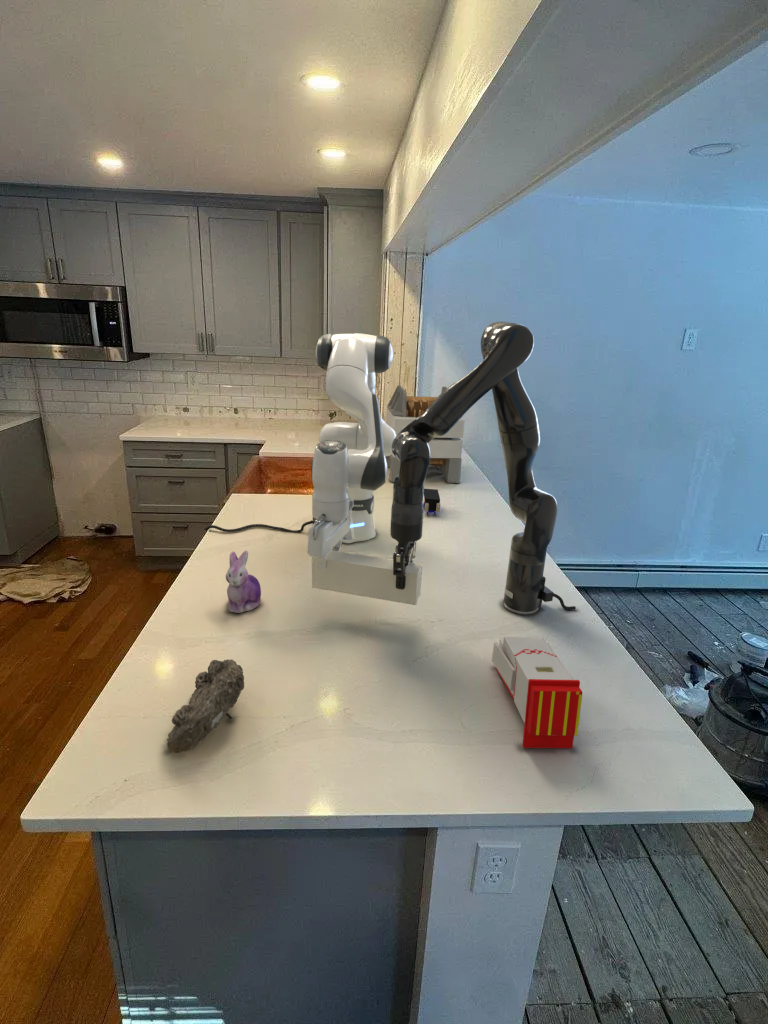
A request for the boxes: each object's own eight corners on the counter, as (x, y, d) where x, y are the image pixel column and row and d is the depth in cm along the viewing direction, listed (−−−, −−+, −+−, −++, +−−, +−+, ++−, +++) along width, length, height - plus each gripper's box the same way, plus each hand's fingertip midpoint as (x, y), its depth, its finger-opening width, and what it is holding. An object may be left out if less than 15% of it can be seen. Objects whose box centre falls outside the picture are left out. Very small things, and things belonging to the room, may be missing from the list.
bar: (311, 587, 143) (311, 557, 140) (320, 578, 148) (320, 548, 145) (415, 605, 136) (417, 573, 133) (420, 594, 141) (422, 564, 138)
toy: (540, 620, 128) (592, 687, 99) (535, 674, 131) (584, 755, 102) (487, 619, 128) (523, 686, 99) (483, 673, 131) (517, 754, 101)
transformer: (382, 463, 289) (386, 382, 275) (445, 464, 293) (451, 384, 279) (390, 482, 257) (394, 392, 243) (460, 483, 261) (468, 394, 247)
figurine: (230, 617, 142) (227, 563, 137) (221, 599, 150) (218, 547, 145) (267, 610, 146) (266, 557, 141) (256, 593, 154) (255, 542, 149)
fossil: (192, 660, 117) (244, 628, 112) (224, 691, 120) (276, 661, 115) (142, 746, 98) (202, 712, 93) (182, 779, 101) (242, 748, 96)
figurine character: (440, 521, 217) (436, 504, 231) (442, 503, 214) (438, 487, 227) (423, 520, 217) (420, 503, 230) (424, 502, 214) (421, 486, 227)
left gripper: (326, 524, 127) (326, 580, 131) (355, 498, 146) (354, 548, 150) (300, 520, 128) (300, 575, 133) (332, 495, 147) (332, 544, 152)
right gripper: (415, 531, 125) (411, 599, 131) (428, 510, 138) (424, 573, 144) (383, 526, 127) (380, 593, 133) (399, 506, 140) (396, 568, 146)
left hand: (329, 561), depth 142 cm, fingers open, 8 cm apart
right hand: (403, 582), depth 138 cm, fingers closed on bar, 5 cm apart
